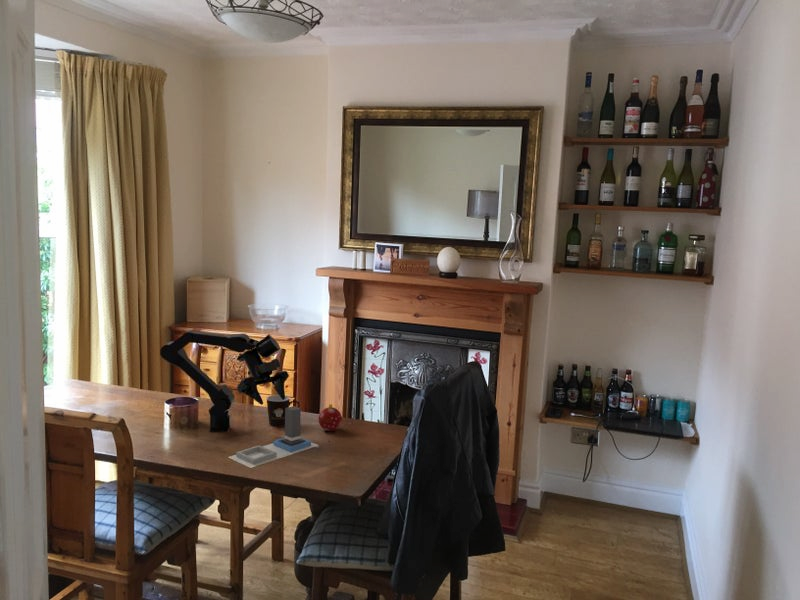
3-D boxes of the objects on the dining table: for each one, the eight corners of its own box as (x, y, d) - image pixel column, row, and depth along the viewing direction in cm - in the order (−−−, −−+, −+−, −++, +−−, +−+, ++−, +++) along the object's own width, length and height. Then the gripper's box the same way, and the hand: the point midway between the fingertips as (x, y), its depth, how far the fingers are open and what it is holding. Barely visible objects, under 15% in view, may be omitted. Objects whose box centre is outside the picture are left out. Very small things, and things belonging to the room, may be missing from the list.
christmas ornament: (313, 430, 230) (314, 404, 229) (327, 424, 238) (328, 399, 237) (332, 435, 226) (332, 409, 225) (346, 429, 233) (346, 403, 232)
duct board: (250, 470, 192) (250, 463, 192) (227, 460, 200) (227, 452, 200) (318, 448, 214) (318, 440, 213) (295, 439, 221) (295, 432, 221)
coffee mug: (262, 426, 233) (262, 400, 232) (271, 419, 242) (271, 394, 240) (292, 429, 231) (292, 403, 230) (300, 422, 240) (300, 396, 238)
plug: (281, 445, 212) (282, 407, 211) (293, 441, 216) (294, 405, 214) (290, 449, 209) (291, 411, 207) (302, 445, 213) (303, 408, 211)
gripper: (242, 355, 213) (260, 394, 207) (286, 348, 227) (305, 384, 221) (229, 373, 219) (247, 411, 214) (273, 365, 233) (291, 401, 227)
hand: (273, 401), depth 219 cm, fingers open, 9 cm apart
